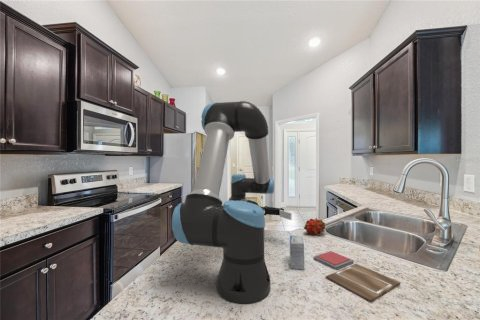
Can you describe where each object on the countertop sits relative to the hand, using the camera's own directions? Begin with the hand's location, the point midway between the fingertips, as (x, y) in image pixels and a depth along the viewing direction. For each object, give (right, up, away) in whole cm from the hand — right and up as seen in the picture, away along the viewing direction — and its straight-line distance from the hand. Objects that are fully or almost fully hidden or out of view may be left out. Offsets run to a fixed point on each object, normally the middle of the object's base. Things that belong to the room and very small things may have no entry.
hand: (278, 218), depth 81 cm
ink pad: (+19, -13, -7) cm, 24 cm away
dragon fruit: (+22, -14, +22) cm, 34 cm away
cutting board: (+21, -13, -19) cm, 32 cm away
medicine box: (+5, -13, -9) cm, 17 cm away
